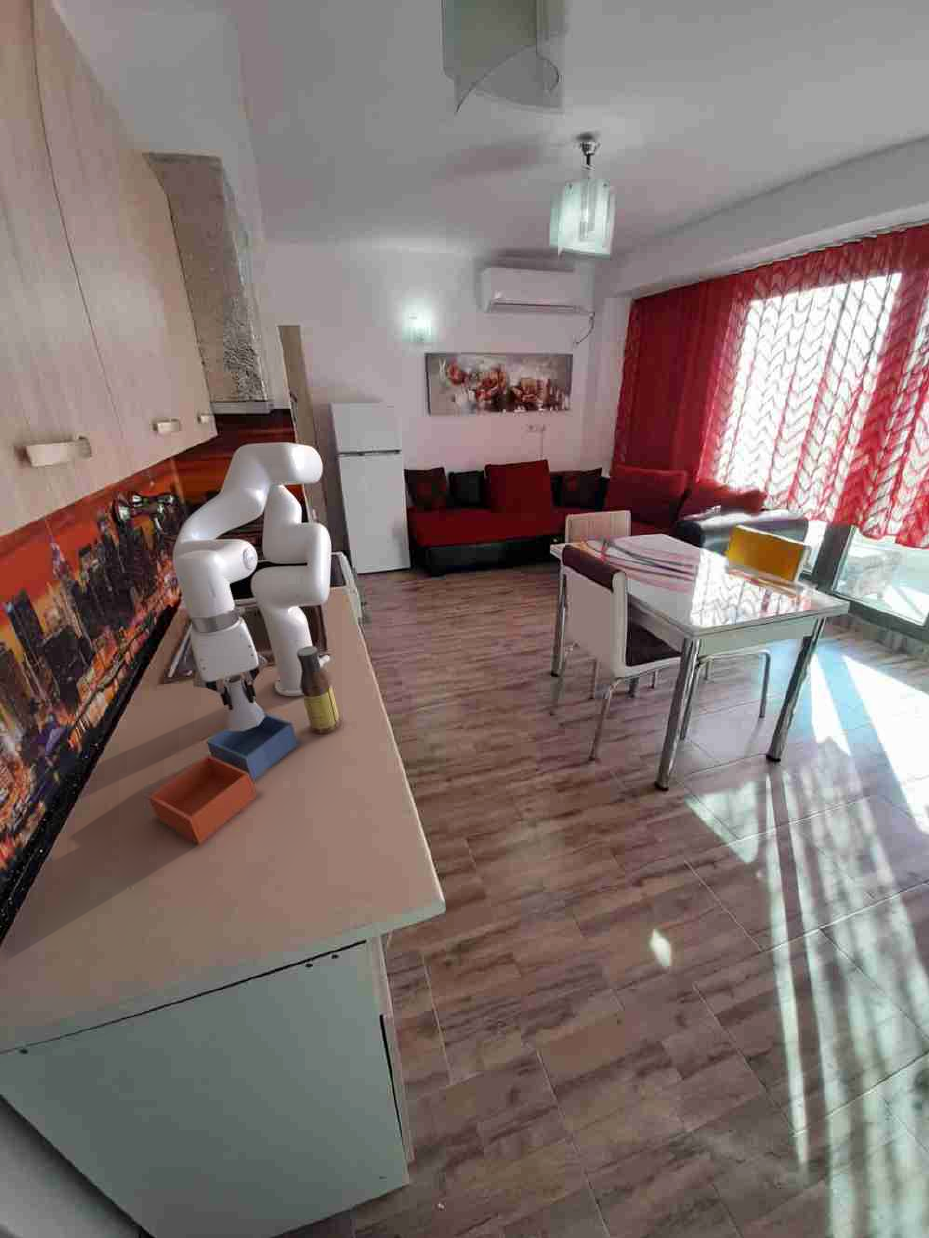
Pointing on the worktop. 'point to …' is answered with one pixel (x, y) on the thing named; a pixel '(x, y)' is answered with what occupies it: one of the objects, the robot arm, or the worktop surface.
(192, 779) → the terracotta bin
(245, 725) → the flask
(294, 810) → the worktop surface
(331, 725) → the sauce bottle
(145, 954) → the worktop surface
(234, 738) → the blue bin
